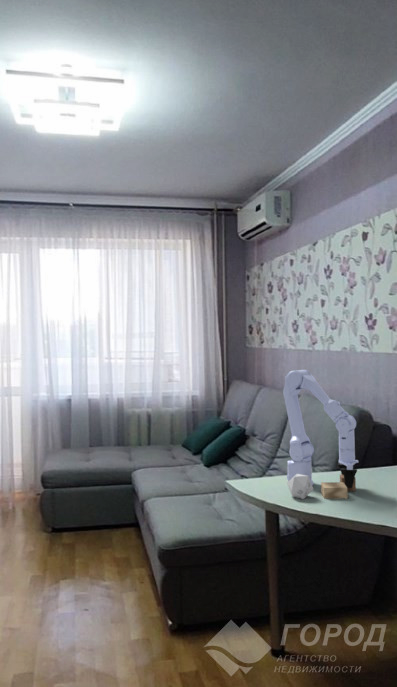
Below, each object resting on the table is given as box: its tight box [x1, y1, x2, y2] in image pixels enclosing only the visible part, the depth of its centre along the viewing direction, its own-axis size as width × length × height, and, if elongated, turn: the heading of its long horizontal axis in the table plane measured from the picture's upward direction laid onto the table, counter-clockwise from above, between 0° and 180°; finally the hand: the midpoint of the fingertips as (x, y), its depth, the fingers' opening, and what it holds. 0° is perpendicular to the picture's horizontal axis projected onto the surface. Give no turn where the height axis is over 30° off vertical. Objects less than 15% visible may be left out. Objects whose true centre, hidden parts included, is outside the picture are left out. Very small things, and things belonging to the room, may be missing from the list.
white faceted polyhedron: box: [286, 474, 314, 500], centre depth 201 cm, size 8×9×10 cm
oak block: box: [320, 481, 349, 500], centre depth 202 cm, size 8×8×4 cm
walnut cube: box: [339, 474, 357, 492], centre depth 210 cm, size 5×5×5 cm
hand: (347, 485), depth 210 cm, fingers open, 7 cm apart
